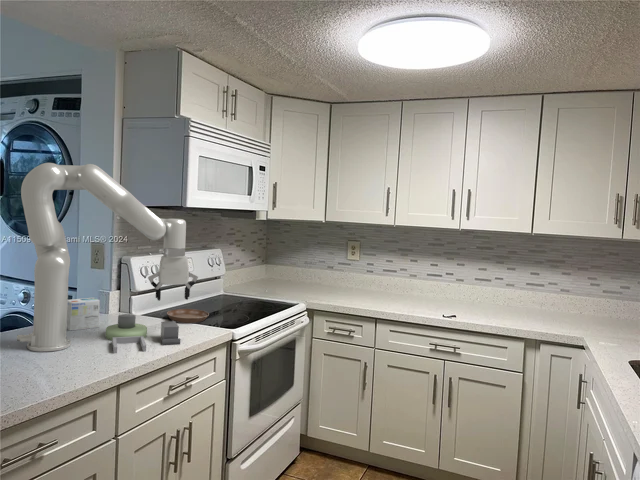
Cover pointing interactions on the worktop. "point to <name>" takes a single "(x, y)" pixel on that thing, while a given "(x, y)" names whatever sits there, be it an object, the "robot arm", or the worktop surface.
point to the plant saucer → (187, 315)
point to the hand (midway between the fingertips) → (172, 299)
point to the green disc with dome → (126, 332)
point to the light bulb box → (83, 313)
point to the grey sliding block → (169, 333)
